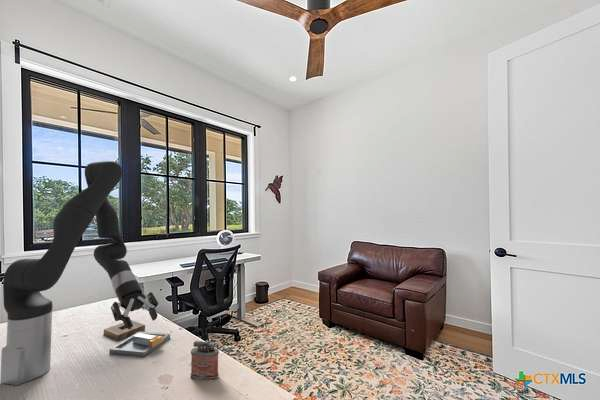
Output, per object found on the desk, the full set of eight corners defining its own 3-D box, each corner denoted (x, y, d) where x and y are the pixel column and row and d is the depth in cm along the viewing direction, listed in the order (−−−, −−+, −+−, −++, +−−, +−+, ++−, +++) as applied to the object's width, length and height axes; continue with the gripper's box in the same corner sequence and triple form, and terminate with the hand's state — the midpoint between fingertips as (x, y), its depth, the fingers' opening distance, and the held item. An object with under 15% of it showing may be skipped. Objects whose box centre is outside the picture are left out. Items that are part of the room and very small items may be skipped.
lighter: (220, 374, 77) (220, 339, 78) (215, 381, 74) (216, 344, 74) (194, 372, 78) (194, 337, 79) (188, 379, 75) (188, 343, 75)
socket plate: (117, 340, 97) (117, 335, 97) (103, 334, 102) (103, 329, 102) (144, 330, 106) (145, 324, 106) (130, 324, 111) (130, 319, 111)
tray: (144, 357, 86) (144, 352, 86) (109, 353, 88) (109, 349, 88) (170, 338, 99) (170, 333, 99) (138, 335, 101) (139, 331, 101)
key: (130, 343, 94) (152, 348, 89) (130, 336, 94) (151, 340, 89) (141, 338, 97) (163, 342, 92) (141, 331, 97) (162, 335, 92)
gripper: (109, 284, 92) (126, 324, 86) (149, 275, 105) (167, 310, 99) (100, 297, 95) (117, 337, 88) (141, 287, 107) (158, 322, 101)
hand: (143, 323), depth 94 cm, fingers open, 8 cm apart
